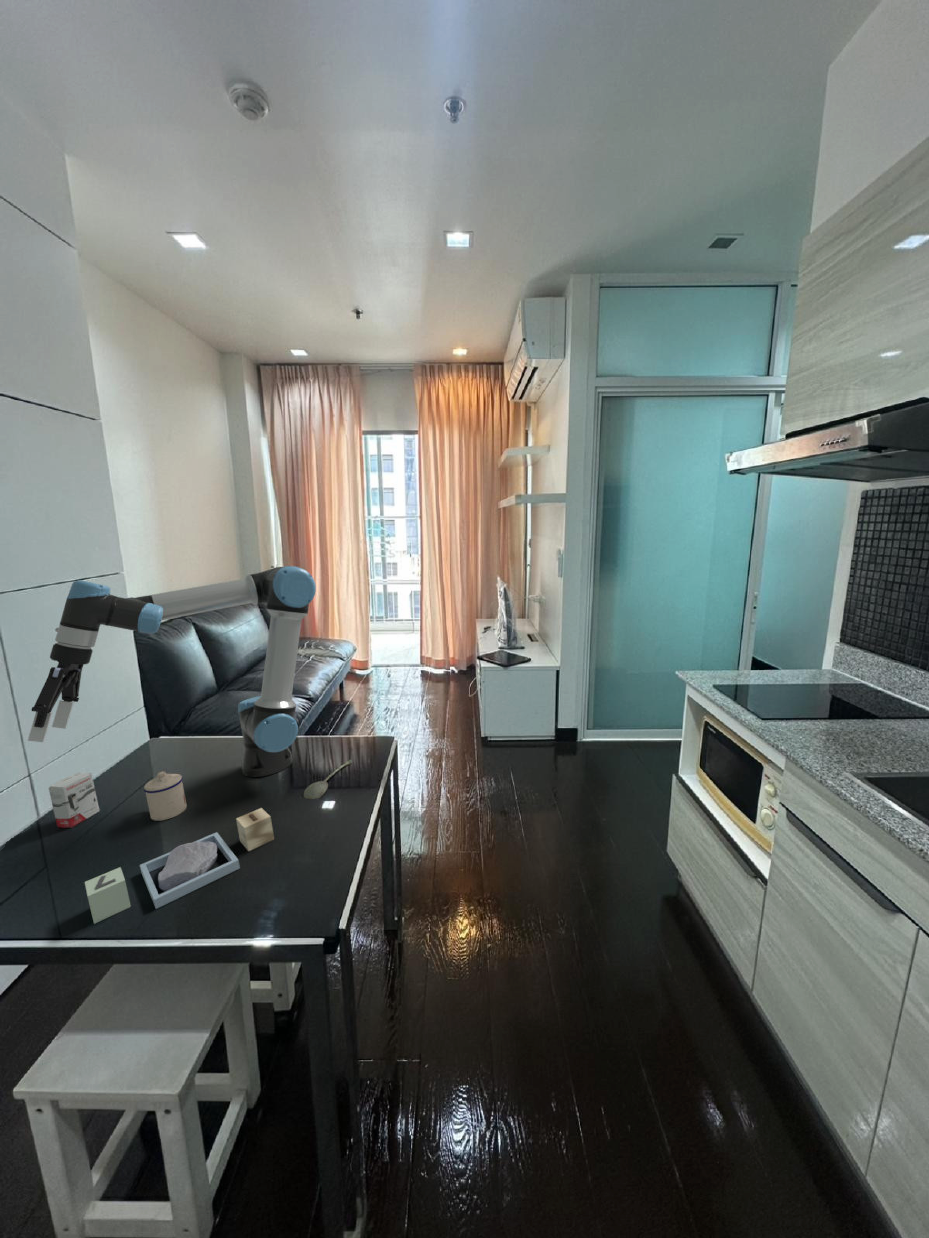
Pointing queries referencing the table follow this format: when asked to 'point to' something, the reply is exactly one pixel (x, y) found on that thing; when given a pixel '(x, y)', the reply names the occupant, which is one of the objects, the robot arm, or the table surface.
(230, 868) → the slate-blue holder
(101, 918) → the numbered sage-green block
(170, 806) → the teacup with lid
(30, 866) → the table surface
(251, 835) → the numbered birch block
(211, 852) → the stone block
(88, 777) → the ink box
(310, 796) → the soupspoon
